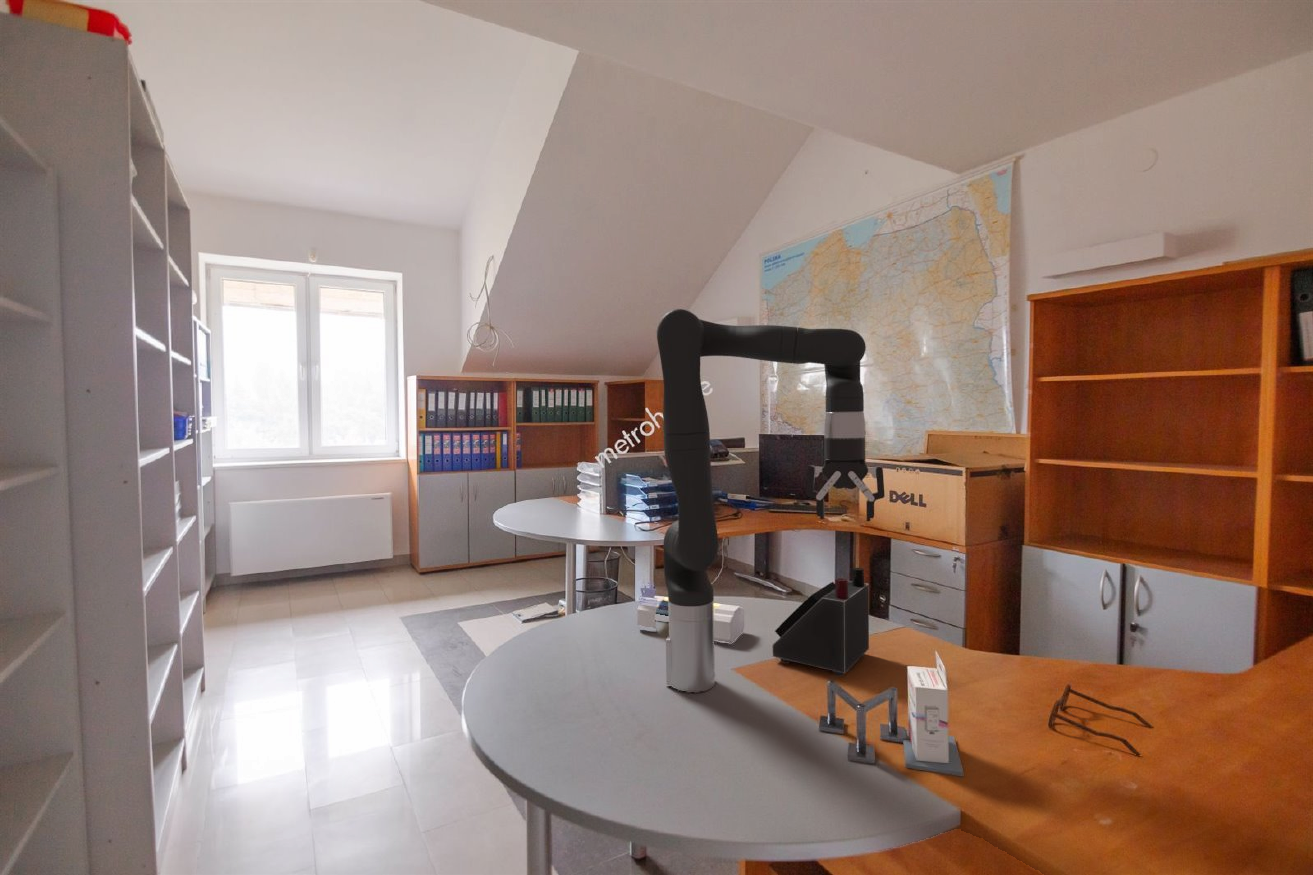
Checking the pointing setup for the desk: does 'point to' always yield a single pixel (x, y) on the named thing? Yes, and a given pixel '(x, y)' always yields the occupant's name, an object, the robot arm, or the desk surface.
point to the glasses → (1062, 703)
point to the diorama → (725, 616)
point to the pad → (946, 768)
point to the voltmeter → (828, 627)
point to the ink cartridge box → (928, 712)
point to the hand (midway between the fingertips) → (845, 519)
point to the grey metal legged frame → (862, 721)
